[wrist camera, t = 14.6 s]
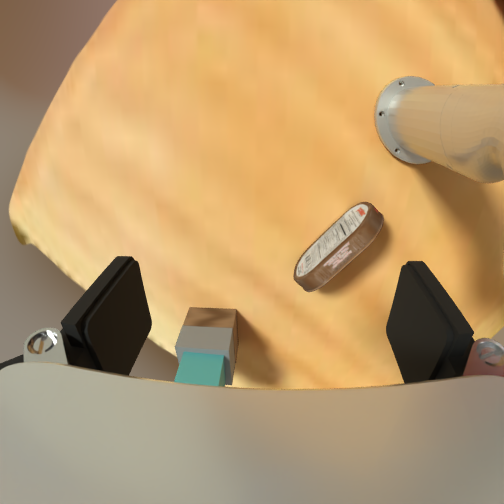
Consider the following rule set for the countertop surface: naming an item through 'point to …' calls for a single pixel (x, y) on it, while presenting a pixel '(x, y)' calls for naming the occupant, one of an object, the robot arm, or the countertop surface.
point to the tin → (338, 246)
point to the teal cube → (201, 369)
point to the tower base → (214, 320)
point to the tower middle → (208, 345)
